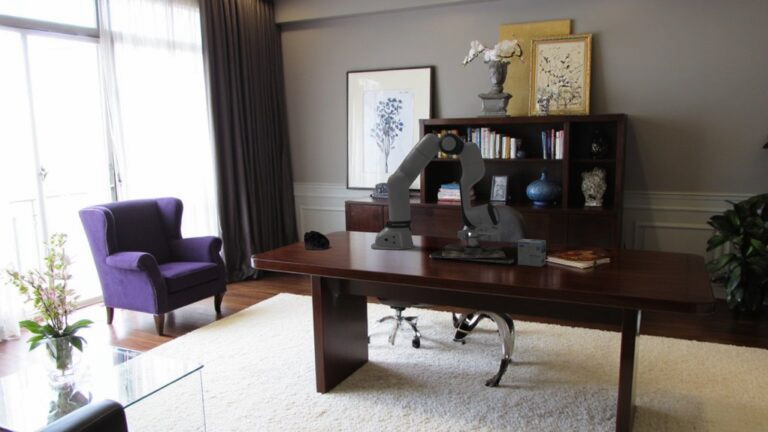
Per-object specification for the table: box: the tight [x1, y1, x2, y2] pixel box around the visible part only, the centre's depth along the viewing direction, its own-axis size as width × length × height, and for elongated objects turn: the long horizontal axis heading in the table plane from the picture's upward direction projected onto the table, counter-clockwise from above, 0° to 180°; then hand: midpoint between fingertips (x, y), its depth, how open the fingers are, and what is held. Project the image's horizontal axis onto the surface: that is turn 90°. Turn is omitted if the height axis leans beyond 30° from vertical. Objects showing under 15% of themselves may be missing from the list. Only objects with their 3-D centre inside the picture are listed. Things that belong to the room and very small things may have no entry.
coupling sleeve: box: [467, 232, 479, 249], centre depth 263 cm, size 5×5×10 cm
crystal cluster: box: [303, 230, 331, 251], centre depth 295 cm, size 13×14×10 cm
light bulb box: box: [517, 238, 547, 267], centre depth 244 cm, size 11×7×11 cm, turn 58°
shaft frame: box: [441, 244, 506, 257], centre depth 263 cm, size 29×10×5 cm, turn 82°
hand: (472, 238), depth 262 cm, fingers open, 8 cm apart
